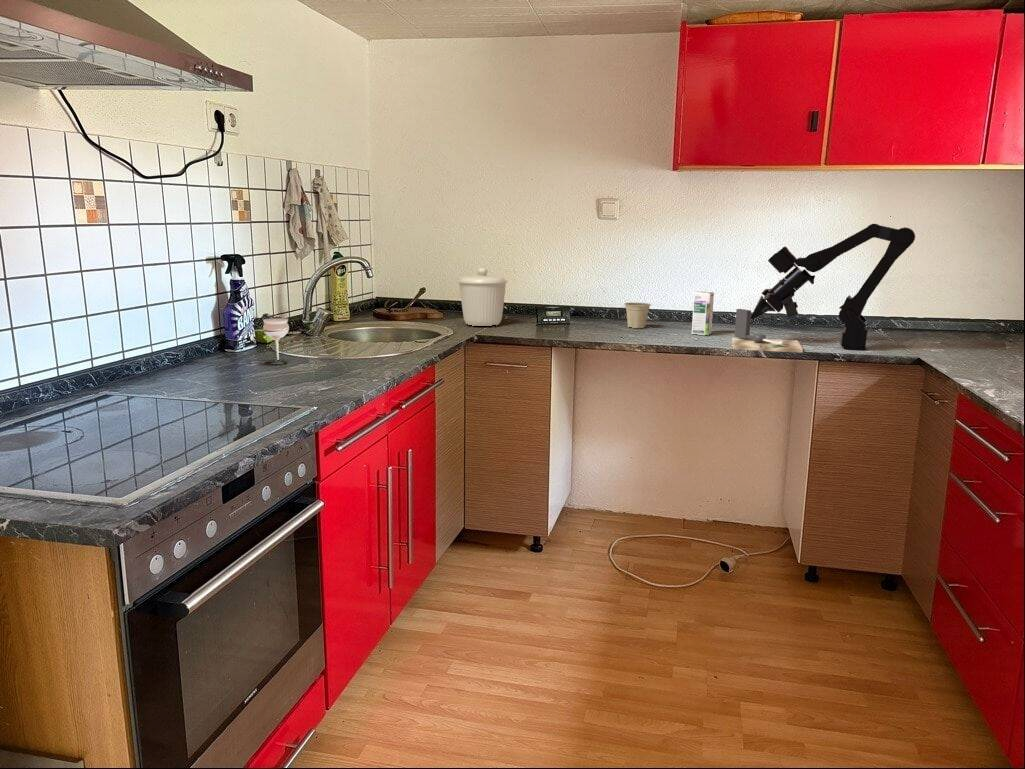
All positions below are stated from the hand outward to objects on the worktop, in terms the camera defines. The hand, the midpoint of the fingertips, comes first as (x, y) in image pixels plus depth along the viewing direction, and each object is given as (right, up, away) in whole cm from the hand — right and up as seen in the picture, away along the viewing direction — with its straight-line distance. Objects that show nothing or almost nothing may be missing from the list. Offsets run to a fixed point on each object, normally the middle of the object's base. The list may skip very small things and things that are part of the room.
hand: (751, 318), depth 247 cm
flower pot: (-32, -1, +31) cm, 45 cm away
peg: (0, -8, -6) cm, 10 cm away
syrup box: (-12, -4, +17) cm, 21 cm away
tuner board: (+2, -9, -7) cm, 12 cm away
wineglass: (-141, -16, -36) cm, 146 cm away
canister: (-88, 0, +35) cm, 94 cm away
